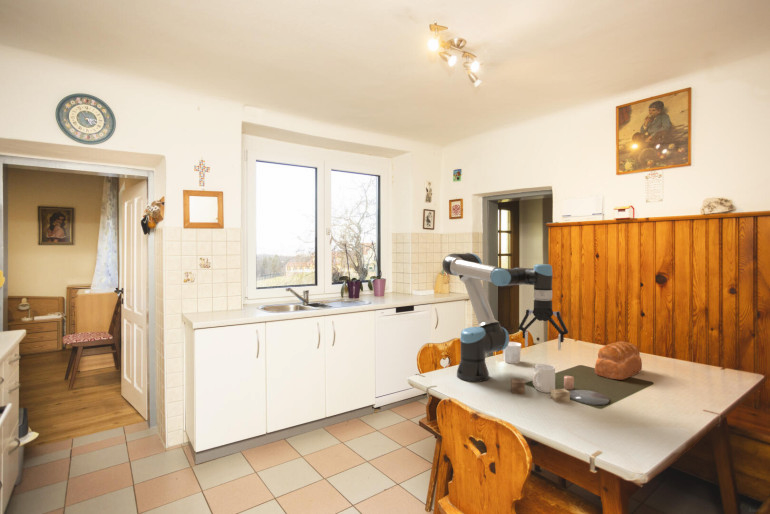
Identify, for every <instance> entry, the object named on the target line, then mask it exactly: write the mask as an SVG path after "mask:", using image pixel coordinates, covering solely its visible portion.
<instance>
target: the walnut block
mask: <svg viewBox="0 0 770 514" xmlns="http://www.w3.org/2000/svg"><path fill="white" fill-rule="evenodd" d="M510 391H511V393H512V394H515V395H525V394H526V381H524V379H523V378H510Z"/></svg>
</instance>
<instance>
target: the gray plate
mask: <svg viewBox="0 0 770 514" xmlns="http://www.w3.org/2000/svg"><path fill="white" fill-rule="evenodd" d="M569 392H570V400H573V402H574V401H575V402H577V403H580V404H585V405H590V406H604V405H607V404H609V403H610V398H609V397H608V396H607V395H605V394H604V393H600V392H597V391H593V390H587V389H586V390H585V389H573V390H569Z"/></svg>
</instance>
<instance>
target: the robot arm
mask: <svg viewBox="0 0 770 514" xmlns="http://www.w3.org/2000/svg"><path fill="white" fill-rule="evenodd" d="M441 264H442V269H443V271H444V272H445V274H447V275H449V276H454V277H458V278H459V280H460V281H461V282H462V283H463V284H464V285H465V288H466V291H467V295H468V298H469V301H470V303H471V307H472V310H473V313H474V314H475V319H476V321H477V324H478V326H470V327H467V328H464V329H462V330H461V332H460V337H459V340H460V361H459V365H458V367H457V370H456V377H457V378H458V379H461V380H462V381H466V382H474V383H476V382H485V381H487V380H489V378H490V374H489V370H488V366H487V363H486V354H491V353H496V352H497V353H498V352H500V351H503V350H504V349H505V348H506V347H507V346H508V343H509V342H510V334H509V332H508V330H507V329H506V328H505V327H503V326H501V323H500V321H498V320H496V319H495V316H494V313H493V310H492V308H491V305H490V302H489V299H488V297H487V294H486V291H485V287H484V285H483V283H482V281H484V282H488V283H492V284H493V285H494V286H497V287H506V286H518V285H520V286H521V285H525V286H526V285H529V286H533V299H534V300H533V309H530V308H527V309H526V310H525V315H524V317H523V318H522V320H521V322H520V324H519V326H518V330H520V331H522V339H524V347H525V348H526V347H528V345H529V339H528V338H529V331H528V330H527V329H529V328H530V326H532V325H533V323H535V322H536V321H539V322H540V321H541V322H543V321H544V322H549V323H550V324H551V325H552V327H554V328H555V330H556V331H557V332H558V336H557V337H558V339H557V340H558V341H557V342H558V346H557V347H558V348H557V350H558V351H561V350H562V347H561V346H562V345H561V344H562V343H564V340H565V339H564V338H565V335H568V334H569V330H568V328H567V326H566V324H565V322H564V320H563V319H562V316H561V312H560V311H558V310H557V311H553V301H552V299H553V275H554V274H553V265H551V264H550V263H549V264H545V263H541V264H539V263H537V264H534V266H533V268H531V267H530V268H529V267H513V268H504V267H500V266H499V267H498V266H494V265H490V264H489V265H488V264H483V261H482V259H481V258H480V256H478V255H477V254H475V253H471V252H470V253H469V252H466V253H450V254H448V255H446V256H445V257H444V258H443V260H442V263H441ZM531 314H532V315H533V316H534V317H533V318H532V319H530V321H529V322H528V323H527V324H526V325H525V323H526V321H527V320H528V318H529V316H530V315H531ZM553 315H554V316H555V317H556V319H557V320H558V323H559V324H560V326H561V327H560V326H559V325H558V323H556V321H555V320H554V318H552V316H553ZM524 325H525V327H524Z"/></svg>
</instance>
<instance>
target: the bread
mask: <svg viewBox="0 0 770 514" xmlns="http://www.w3.org/2000/svg"><path fill="white" fill-rule="evenodd" d="M642 361H643V360H642V358H641V352H640V349H639V348H638V347H637V346H636V345H635V344H633V343H631V342H626V341H624V340H623V341H619V340H618V341H616V342H611V343H607V345H604V346H602V347H601V348H599V349H598V353H597V359H596V362H595V365H594V372H595V374H596V375H597V376H599V377H604V378H606V379H610V380H611V379H612V380H618V381H619V380H620V381H624V380H625V379H628V378H630V377H631V378H632V377H633V376H635V375H637V374H639V373H640V372H641V371H642V369H643V362H642Z"/></svg>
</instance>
